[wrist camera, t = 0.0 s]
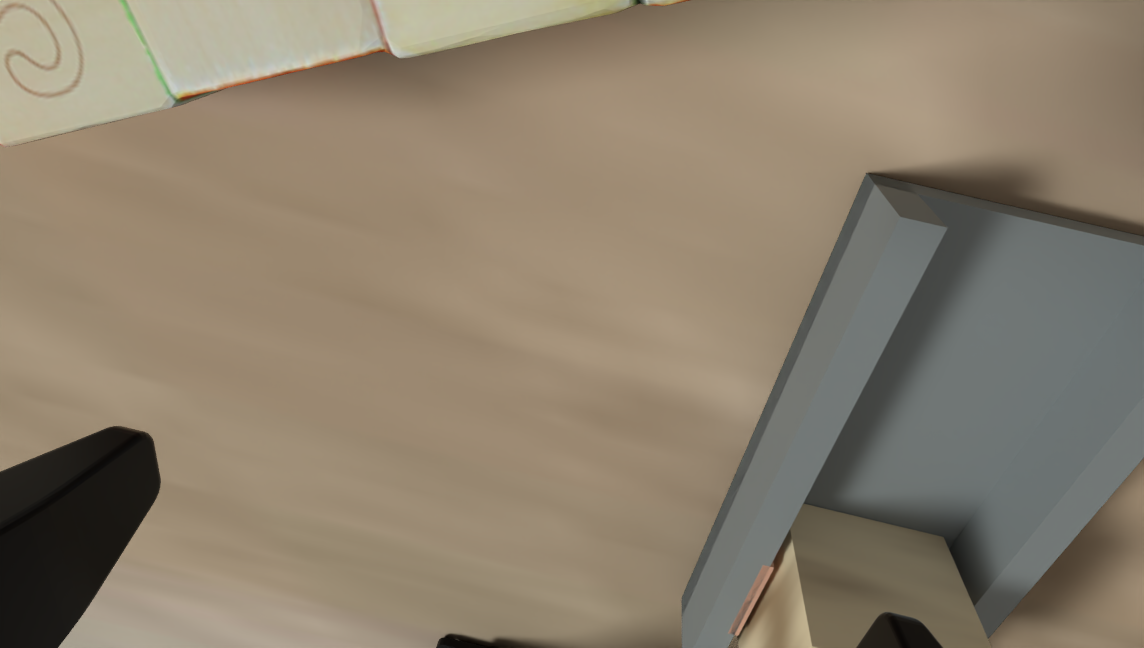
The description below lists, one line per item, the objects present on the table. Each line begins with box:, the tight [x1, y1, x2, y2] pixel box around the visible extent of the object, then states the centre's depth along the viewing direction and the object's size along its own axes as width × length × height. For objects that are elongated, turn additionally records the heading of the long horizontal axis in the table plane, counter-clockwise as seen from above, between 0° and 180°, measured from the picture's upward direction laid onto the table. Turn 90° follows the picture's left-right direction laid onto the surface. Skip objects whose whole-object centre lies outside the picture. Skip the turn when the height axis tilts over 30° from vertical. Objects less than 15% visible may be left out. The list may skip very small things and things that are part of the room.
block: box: [738, 504, 992, 648], centre depth 24 cm, size 6×6×6 cm
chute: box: [682, 173, 1144, 648], centre depth 23 cm, size 20×9×4 cm, turn 169°
